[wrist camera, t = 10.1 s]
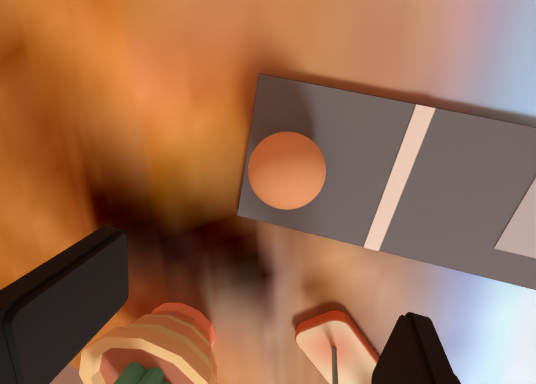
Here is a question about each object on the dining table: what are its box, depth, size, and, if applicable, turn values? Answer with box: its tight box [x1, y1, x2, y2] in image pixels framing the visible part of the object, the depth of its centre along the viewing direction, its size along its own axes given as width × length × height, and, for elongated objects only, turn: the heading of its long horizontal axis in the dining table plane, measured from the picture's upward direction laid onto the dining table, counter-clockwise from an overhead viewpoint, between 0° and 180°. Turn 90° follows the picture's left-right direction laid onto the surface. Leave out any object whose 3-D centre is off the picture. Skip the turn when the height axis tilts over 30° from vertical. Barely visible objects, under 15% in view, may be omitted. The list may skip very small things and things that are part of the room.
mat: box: [238, 74, 536, 290], centre depth 24 cm, size 30×13×1 cm, turn 80°
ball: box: [248, 132, 326, 210], centre depth 22 cm, size 6×6×6 cm
